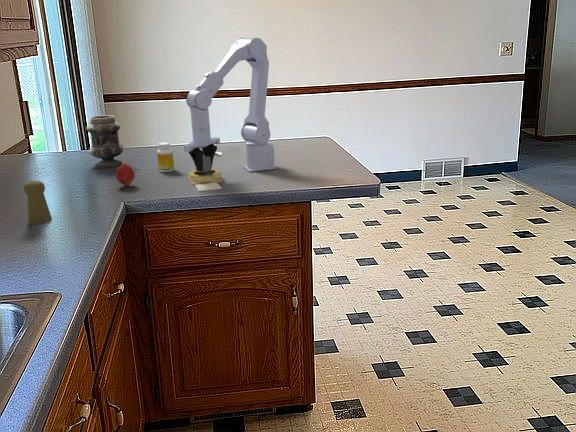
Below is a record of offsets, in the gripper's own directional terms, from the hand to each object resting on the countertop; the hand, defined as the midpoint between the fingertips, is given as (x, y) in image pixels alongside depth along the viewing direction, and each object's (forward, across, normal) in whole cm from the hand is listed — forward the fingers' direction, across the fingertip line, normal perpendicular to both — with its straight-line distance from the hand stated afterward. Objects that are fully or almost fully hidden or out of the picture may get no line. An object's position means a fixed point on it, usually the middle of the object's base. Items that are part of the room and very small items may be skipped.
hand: (204, 169), depth 196 cm
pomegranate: (+4, +19, -17) cm, 26 cm away
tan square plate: (+4, 0, 0) cm, 4 cm away
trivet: (+4, +6, +7) cm, 10 cm away
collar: (+4, 0, 0) cm, 4 cm away
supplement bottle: (+4, -2, -21) cm, 22 cm away
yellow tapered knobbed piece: (+4, +54, -9) cm, 55 cm away
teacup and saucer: (+4, -32, -26) cm, 41 cm away
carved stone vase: (+4, +3, -48) cm, 48 cm away
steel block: (+3, 0, 0) cm, 3 cm away
